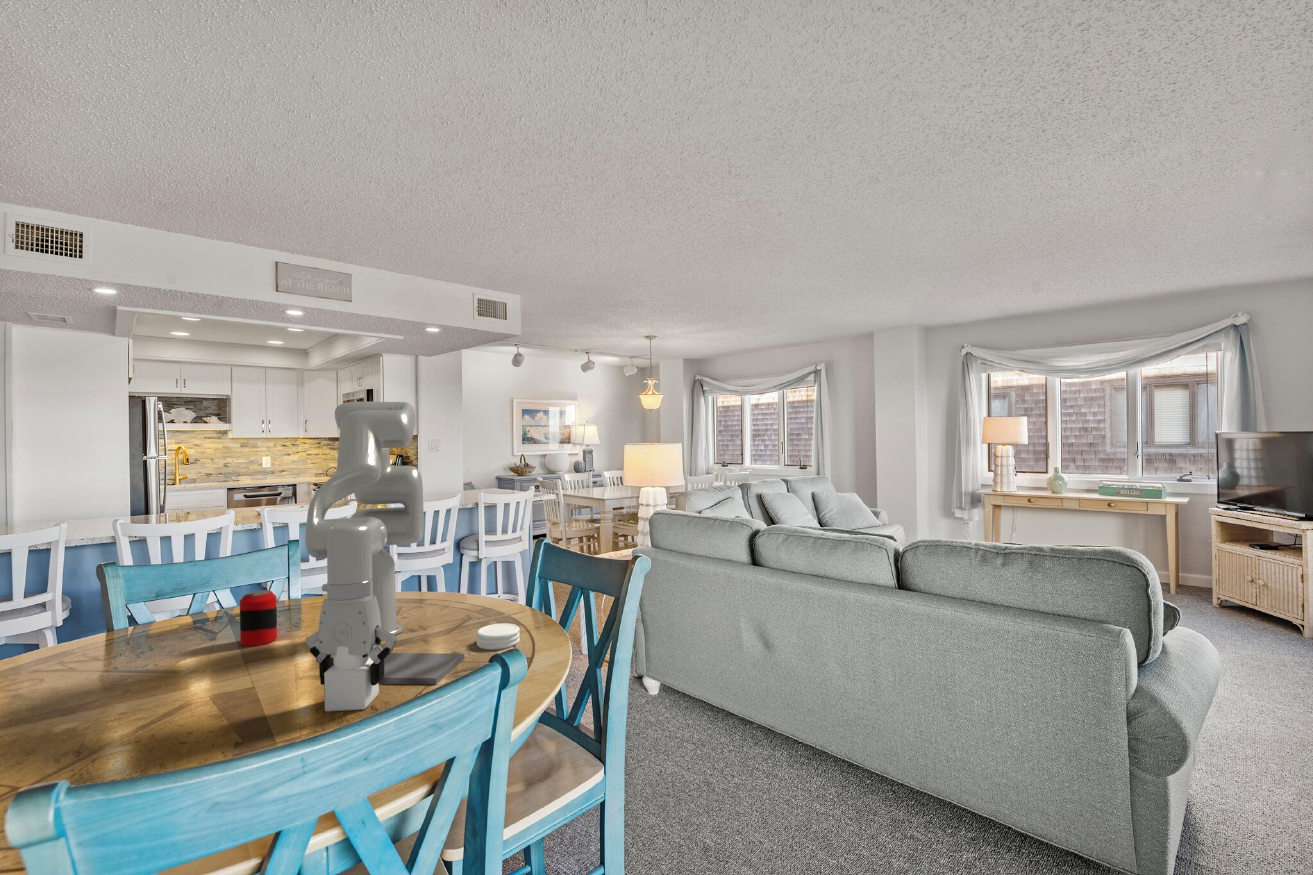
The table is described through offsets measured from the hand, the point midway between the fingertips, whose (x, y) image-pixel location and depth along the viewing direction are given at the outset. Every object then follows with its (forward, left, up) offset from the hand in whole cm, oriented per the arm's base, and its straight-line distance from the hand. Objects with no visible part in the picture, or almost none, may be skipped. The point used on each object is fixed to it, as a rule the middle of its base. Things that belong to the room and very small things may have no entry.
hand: (352, 682), depth 115 cm
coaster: (+16, +34, -4) cm, 38 cm away
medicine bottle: (0, 0, -4) cm, 4 cm away
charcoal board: (+2, +16, -4) cm, 17 cm away
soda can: (-44, +33, -4) cm, 55 cm away
